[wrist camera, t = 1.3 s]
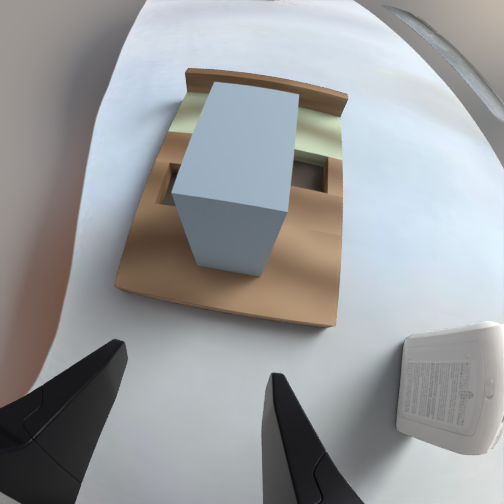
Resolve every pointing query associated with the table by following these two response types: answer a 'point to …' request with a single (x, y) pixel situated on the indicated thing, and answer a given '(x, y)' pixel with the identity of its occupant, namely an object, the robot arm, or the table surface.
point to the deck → (291, 233)
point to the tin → (237, 176)
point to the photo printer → (454, 387)
